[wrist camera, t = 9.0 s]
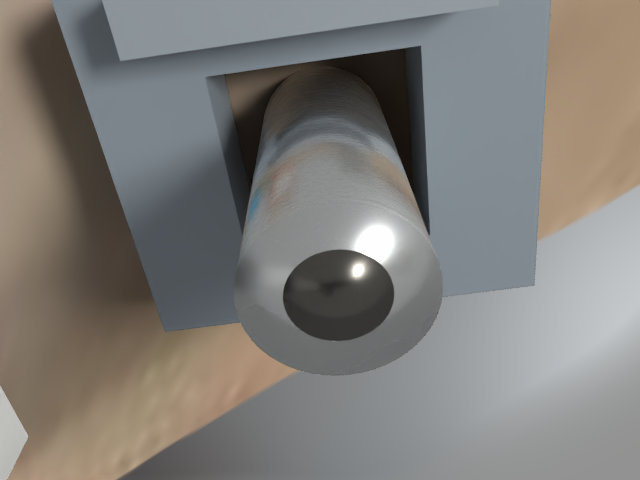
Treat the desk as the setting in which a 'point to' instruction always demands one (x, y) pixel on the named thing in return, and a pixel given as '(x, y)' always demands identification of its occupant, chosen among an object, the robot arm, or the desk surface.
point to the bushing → (333, 233)
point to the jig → (299, 47)
